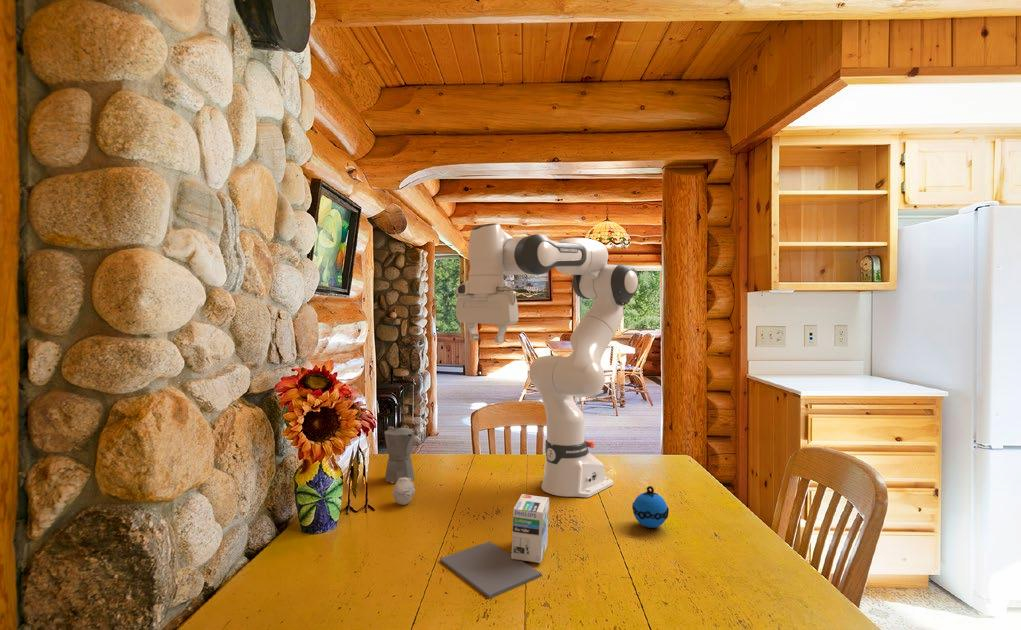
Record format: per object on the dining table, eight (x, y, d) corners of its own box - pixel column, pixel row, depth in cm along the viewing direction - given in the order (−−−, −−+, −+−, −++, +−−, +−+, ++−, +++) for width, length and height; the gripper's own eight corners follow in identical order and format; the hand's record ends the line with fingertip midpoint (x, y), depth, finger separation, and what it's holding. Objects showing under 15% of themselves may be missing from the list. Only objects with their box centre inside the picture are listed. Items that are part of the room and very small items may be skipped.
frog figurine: (418, 499, 149) (417, 474, 148) (410, 509, 142) (410, 483, 142) (396, 498, 149) (396, 474, 149) (388, 508, 142) (388, 482, 142)
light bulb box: (541, 564, 111) (543, 512, 111) (510, 559, 113) (512, 509, 113) (547, 543, 122) (550, 496, 122) (519, 539, 123) (521, 493, 123)
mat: (489, 543, 122) (489, 541, 121) (541, 576, 107) (541, 573, 107) (440, 561, 114) (440, 558, 113) (489, 598, 99) (489, 595, 99)
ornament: (625, 527, 130) (626, 486, 130) (643, 516, 137) (643, 478, 136) (658, 537, 125) (658, 495, 124) (674, 526, 131) (674, 486, 131)
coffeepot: (424, 480, 164) (424, 422, 163) (398, 488, 157) (397, 428, 157) (397, 469, 175) (397, 415, 174) (371, 476, 168) (371, 419, 168)
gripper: (524, 286, 130) (524, 343, 130) (470, 288, 144) (470, 338, 145) (505, 286, 125) (505, 344, 126) (451, 287, 140) (452, 340, 140)
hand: (486, 341), depth 135 cm, fingers open, 8 cm apart
